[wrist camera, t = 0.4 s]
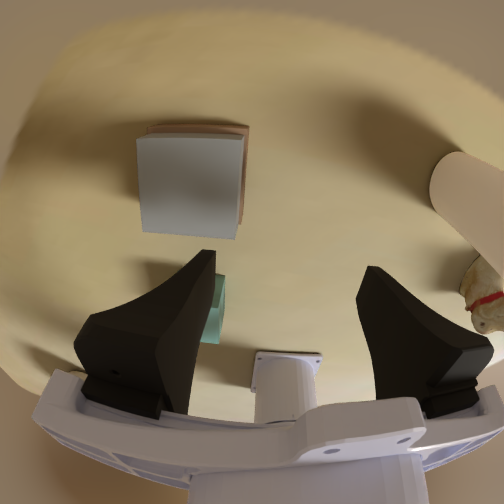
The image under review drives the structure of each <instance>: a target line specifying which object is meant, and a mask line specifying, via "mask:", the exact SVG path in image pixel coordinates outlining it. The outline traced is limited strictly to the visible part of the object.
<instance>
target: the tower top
mask: <svg viewBox="0 0 504 504" xmlns="http://www.w3.org/2000/svg"><path fill="white" fill-rule="evenodd" d="M244 136H245V135H235V134H215V133H151V134H148V135H145V136H142V137H140V138H137V139H136V142H137V169H138V186H139V199H140V210H141V220H142V229H143V232H151V233H164V234H175V235H187V236H199V237H210V238H221V239H233V240H235V237H236V232H237V227H238V221H239V206H240V191H241V176H242V162H243V149H244Z"/></svg>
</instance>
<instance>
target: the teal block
mask: <svg viewBox="0 0 504 504" xmlns="http://www.w3.org/2000/svg"><path fill="white" fill-rule="evenodd" d="M224 309H225V276H223V275H215V291H214V296H213V301H212V306H211V309H210V312H209V315H208V318H207V322H206V325H205V328H204V331H203V334H202V337H201V340H200V342H205V343H214V344H219V339H220V333H221V328H222V322H223V316H224Z"/></svg>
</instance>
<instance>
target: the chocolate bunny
mask: <svg viewBox="0 0 504 504" xmlns="http://www.w3.org/2000/svg"><path fill="white" fill-rule="evenodd" d="M503 288H504V279H503V278H502V277H501V276H500V275H499V274H498V273H497V272H496V270H495V269H494V268H493V267H492V266H491V265H490V264H489V263H488V262H487V261H486V260H485V259H484V257H483V256H482V255H480V256H479V257H478V258H477V259H476V260H475V261H474V262H473V263H472V265H471V266H470V268H469V269H468V270H467V272H466V273H465V275H464V278H463V280H462V282H461V285H460V289H459V291H460V295H462V296H463V297H465V302H466V305H467V306H466V307H465V310H466V311H471V313H472V315H471V321H472V323H473V326H474V328H475V330H476V331H477V332H479V333H480V334H489V333H492V332H495V331H504V293H503Z"/></svg>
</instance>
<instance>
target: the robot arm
mask: <svg viewBox="0 0 504 504" xmlns="http://www.w3.org/2000/svg"><path fill="white" fill-rule="evenodd" d="M215 268H216V251H214V250H204V249H202V250H201V251H200V252H199V253H198V254H197V255H196V256H195V257H194V258H193V259H192V260H191V261H189V262H188V263H187V264H186V265H185V266H184V267H183V268H182V269H181V270H179V271H178V272H177V273H176V274H175V275H173V276H172V277H171V278H169V279H168V280H167V281H166V282H164V283H163V284H161V285H160V286H158V287H157V288H155V289H153V290H152V291H150V292H148V293H146V294H144V295H142V296H140V297H138V298H137V299H135V300H132V301H130V302H128V303H126V304H123V305H120V306H118V307H115V308H112V309H109V310H106V311H102V312H99V313H95V314H91V315H90V316H89V318H88V319H87V321H86V322H85V324H84V325H83V327H82V329H81V330H80V332H79V334H78V335H77V337H76V339H75V341H74V349H75V352H76V354H77V357H78V358H79V360H80V362H81V364H82V365H83V367H84V369H85V370H86V372H87V374H88V376H87V378H86V380H85V382H84V380H82V379H81V378H80V377H78V376H75V375H73V374H70V373H67V372H65V371H62V370H60V369H55V370H54V372H53V374H52V376H51V378H50V379H49V381H48V383H47V385H46V387H45V389H44V391H43V393H42V395H41V397H40V399H39V401H38V403H37V405H36V408H35V410H34V412H33V414H32V416H31V417H32V419H33V420H34V421H35V422H36V423H37V424H38V425H39V426H40V427H41V428H43V429H44V430H45V431H46V432H47V433H48V434H50V435H51V436H52V437H53V438H55V439H56V440H57V441H58V442H60V443H61V444H62V445H64V446H66V447H69V448H71V449H73V450H75V451H77V452H79V453H81V454H83V455H86V456H88V457H90V458H92V459H95V460H97V461H99V462H102V463H104V464H106V465H109V466H112V467H114V468H117V469H119V470H122V471H125V472H127V473H130V474H133V475H136V476H139V477H142V478H145V479H148V480H152V481H155V482H158V483H162V484H165V485H169V486H173V487H177V488H181V489H186V490H189V494H188V501H187V504H429V499H428V492H427V486H426V480H425V476H424V472H426V471H429V470H431V469H433V468H436V467H438V466H441V465H443V464H446V463H447V462H450V461H452V460H454V459H457V458H459V457H461V456H463V455H465V454H468V453H469V452H472V451H474V450H475V449H478V448H479V447H481V446H482V445H484V444H485V443H486V442H488V441H489V440H490V439H492V438H493V437H494V436H496V435H497V434H498V433H500V432H501V431H502V430H503V429H504V405H503V402H502V400H501V397H500V395H499V393H498V391H497V388H496V386H495V385H491V386H488V387H485V388H482V389H480V390H479V391H476V389H475V386H477V384H478V382H477V380H476V377H477V376H478V375H479V374H480V373H481V371H482V370H483V369H484V368H485V367H486V366H487V364H488V363H489V362H490V360H491V358H492V356H493V353H494V348H493V346H492V344H491V343H490V341H489V339H488V338H487V337H485V336H482V335H480V334H477V333H474V332H472V331H469V330H467V329H465V328H463V327H461V326H459V325H457V324H455V323H453V322H451V321H449V320H448V319H446V318H444V317H443V316H441V315H439V314H438V313H436V312H435V311H433V310H432V309H431V308H429V307H428V306H426V305H425V304H424V303H422V302H421V301H420V300H419V299H417V298H416V297H415V296H414V295H412V294H411V293H410V292H409V291H408V290H406V289H405V288H404V287H403V286H402V285H401V284H400V283H398V282H397V281H396V280H395V279H394V278H393V277H391V276H390V275H389V274H388V273H387V272H385V271H384V270H383V269H381V268H380V267H376V266H367V269H366V272H365V275H364V278H363V280H362V283H361V286H360V289H359V291H358V294H357V296H356V304H357V310H358V315H359V319H360V322H361V325H362V328H363V332H364V335H365V338H366V341H367V344H368V348H369V351H370V355H371V359H372V365H373V371H374V379H375V389H376V400H373V401H361V402H346V403H334V404H328V405H322V406H319V407H317V398H316V388H315V379H314V378H315V375H316V373H317V371H318V369H319V367H320V364H321V362H322V360H323V356H322V355H321V354H295V353H275V352H257V353H256V357H255V364H254V370H253V377H252V384H251V392H252V393H256V397H255V416H254V423H243V422H233V421H224V420H215V419H208V418H201V417H195V416H189V415H188V407H189V399H190V393H191V386H192V380H193V374H194V368H195V363H196V357H197V352H198V348H199V344H200V340H201V337H202V334H203V331H204V328H205V325H206V322H207V318H208V315H209V312H210V309H211V306H212V301H213V296H214V291H215Z"/></svg>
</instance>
